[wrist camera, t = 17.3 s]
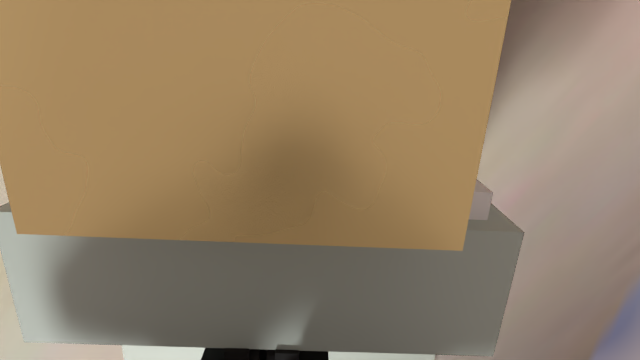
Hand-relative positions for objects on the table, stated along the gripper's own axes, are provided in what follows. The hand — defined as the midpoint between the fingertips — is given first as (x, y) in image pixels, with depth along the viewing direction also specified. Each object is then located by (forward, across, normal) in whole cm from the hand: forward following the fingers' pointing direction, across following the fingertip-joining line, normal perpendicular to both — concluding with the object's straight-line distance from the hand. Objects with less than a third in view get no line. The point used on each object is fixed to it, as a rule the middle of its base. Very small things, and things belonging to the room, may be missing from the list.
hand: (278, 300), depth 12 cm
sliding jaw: (+1, 0, -3) cm, 3 cm away
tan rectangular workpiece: (+1, 0, -7) cm, 7 cm away
